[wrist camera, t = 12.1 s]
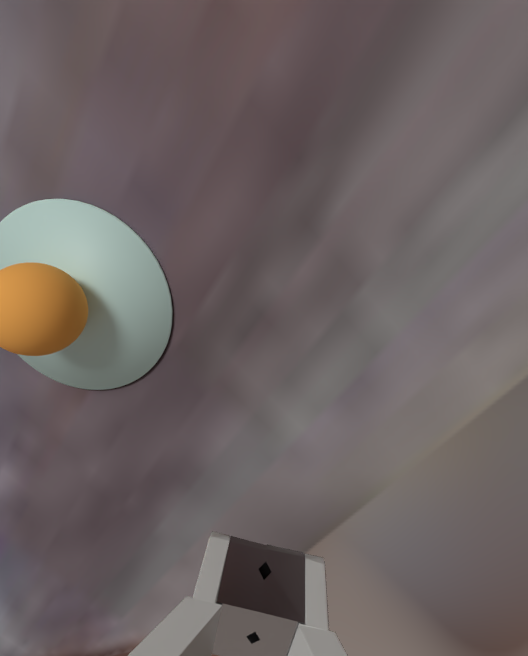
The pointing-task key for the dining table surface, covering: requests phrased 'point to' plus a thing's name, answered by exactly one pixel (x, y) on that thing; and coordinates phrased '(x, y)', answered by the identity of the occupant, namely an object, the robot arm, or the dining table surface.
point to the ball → (39, 309)
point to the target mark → (95, 290)
